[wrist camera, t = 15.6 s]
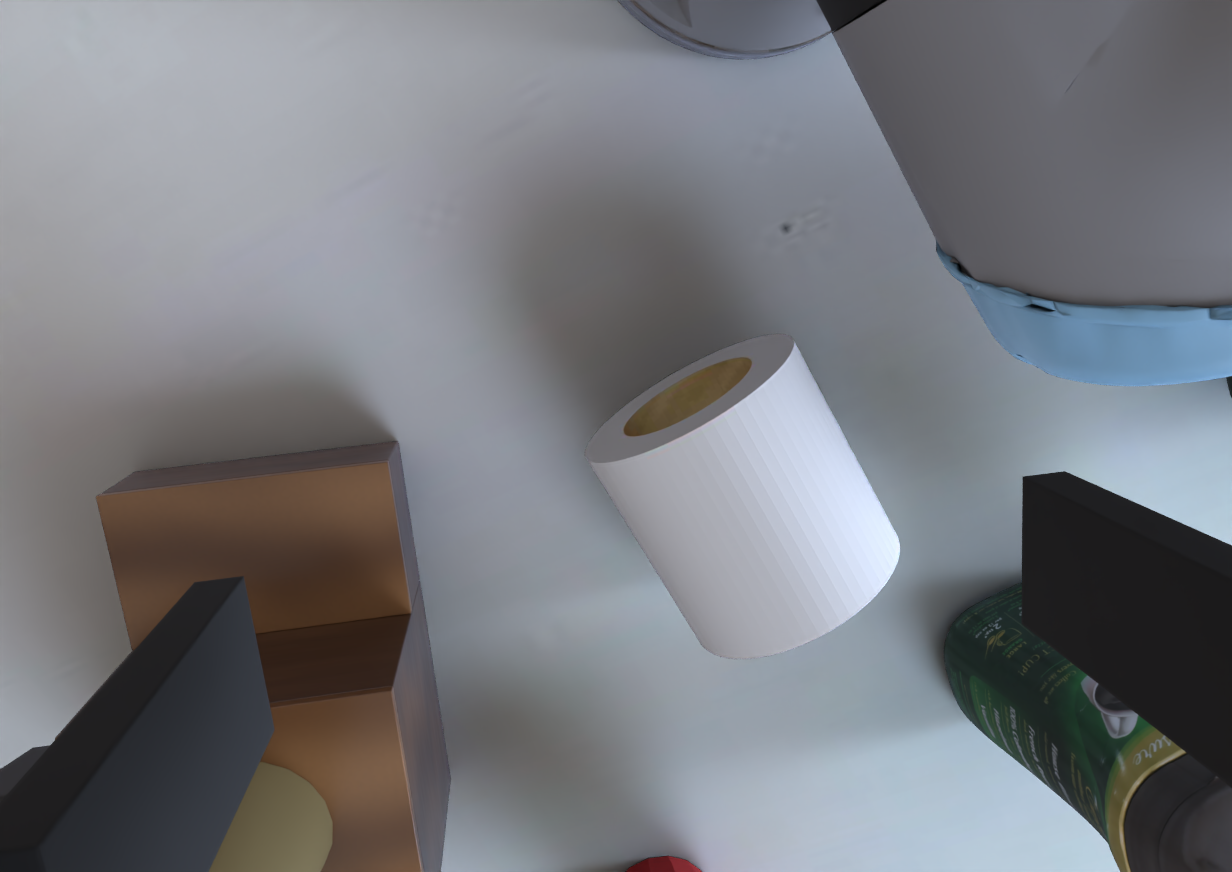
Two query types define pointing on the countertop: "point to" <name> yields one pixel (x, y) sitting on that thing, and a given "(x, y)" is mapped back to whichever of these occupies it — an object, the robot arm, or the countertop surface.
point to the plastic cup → (664, 865)
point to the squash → (1229, 384)
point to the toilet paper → (747, 499)
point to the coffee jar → (1087, 744)
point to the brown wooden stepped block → (310, 626)
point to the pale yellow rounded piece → (277, 826)
